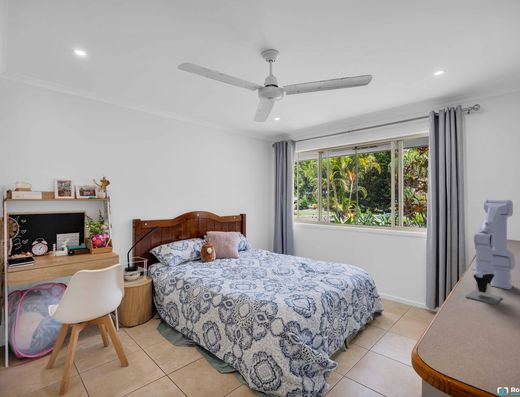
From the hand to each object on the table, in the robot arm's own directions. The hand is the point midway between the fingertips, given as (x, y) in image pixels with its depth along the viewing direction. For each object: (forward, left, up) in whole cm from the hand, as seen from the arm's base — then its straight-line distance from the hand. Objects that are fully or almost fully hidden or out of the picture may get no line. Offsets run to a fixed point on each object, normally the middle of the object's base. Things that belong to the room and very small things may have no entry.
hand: (483, 290), depth 120 cm
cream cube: (0, 0, -1) cm, 1 cm away
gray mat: (0, 0, -3) cm, 3 cm away
